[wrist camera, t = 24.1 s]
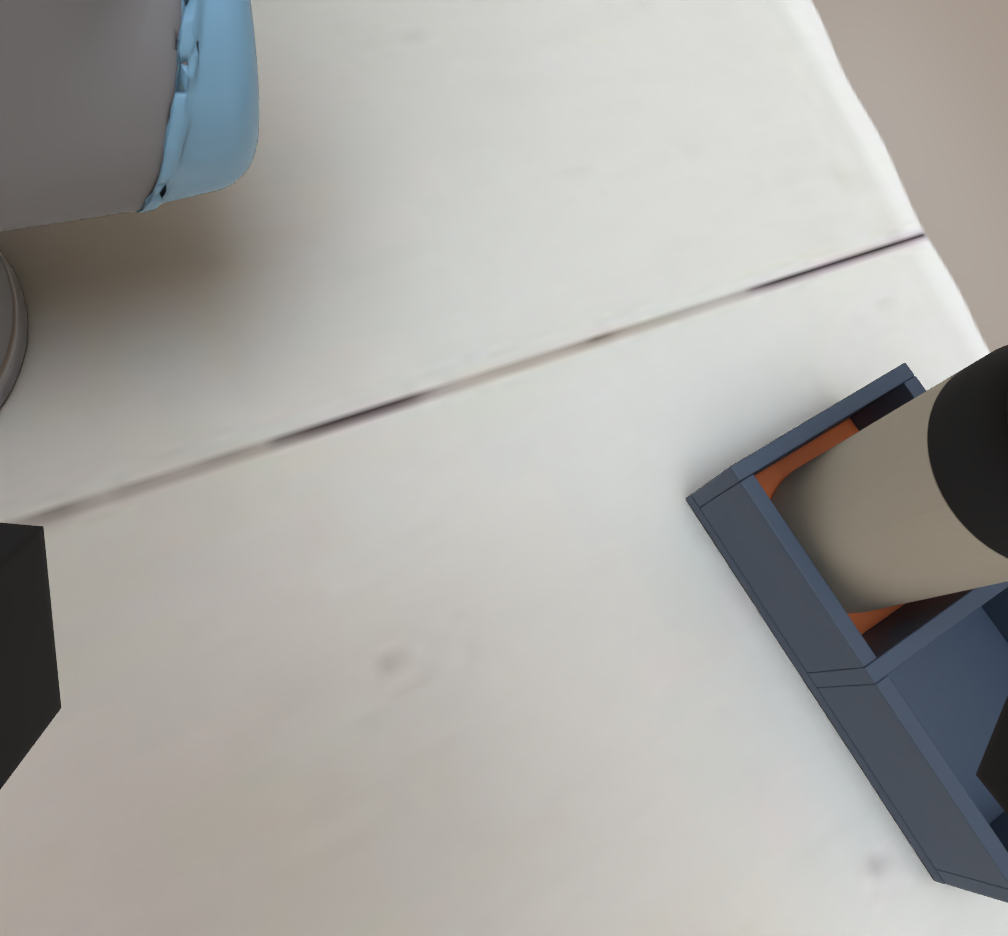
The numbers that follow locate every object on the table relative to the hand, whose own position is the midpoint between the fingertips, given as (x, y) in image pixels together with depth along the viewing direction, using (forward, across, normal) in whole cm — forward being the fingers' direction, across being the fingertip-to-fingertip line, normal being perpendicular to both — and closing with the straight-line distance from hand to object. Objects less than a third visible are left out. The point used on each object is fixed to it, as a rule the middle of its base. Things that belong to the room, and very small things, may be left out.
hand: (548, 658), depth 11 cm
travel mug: (+28, +19, -10) cm, 35 cm away
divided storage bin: (+26, +22, -14) cm, 37 cm away
